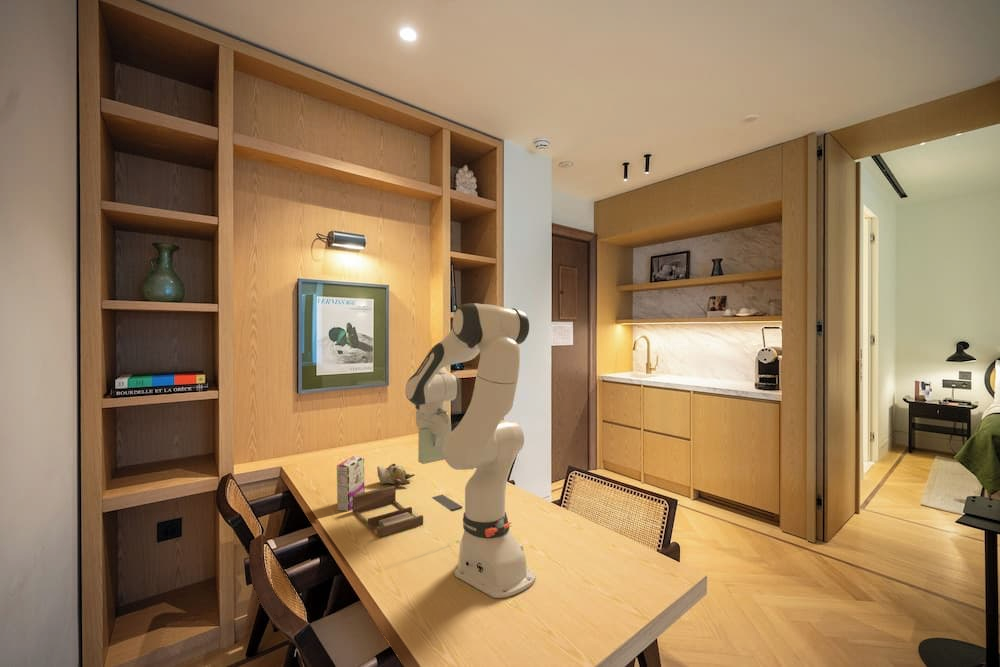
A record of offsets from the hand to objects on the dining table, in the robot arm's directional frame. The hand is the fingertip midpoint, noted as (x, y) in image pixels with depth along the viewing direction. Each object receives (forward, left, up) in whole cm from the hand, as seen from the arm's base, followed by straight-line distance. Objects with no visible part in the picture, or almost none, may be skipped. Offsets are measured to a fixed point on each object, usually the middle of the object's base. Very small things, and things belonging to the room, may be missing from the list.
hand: (433, 444), depth 155 cm
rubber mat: (0, 0, -23) cm, 23 cm away
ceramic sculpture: (+31, +1, -23) cm, 38 cm away
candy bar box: (+20, +23, -23) cm, 38 cm away
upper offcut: (-8, +18, -21) cm, 29 cm away
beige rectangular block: (0, 0, -6) cm, 6 cm away
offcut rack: (-1, +18, -23) cm, 29 cm away
